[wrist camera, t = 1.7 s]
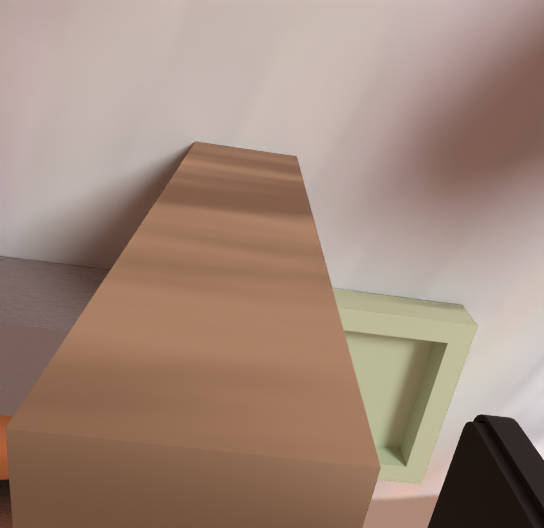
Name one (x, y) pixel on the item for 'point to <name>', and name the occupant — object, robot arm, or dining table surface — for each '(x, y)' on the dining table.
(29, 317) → the block
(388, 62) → the dining table surface
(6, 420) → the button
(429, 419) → the holder tray
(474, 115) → the dining table surface
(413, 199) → the dining table surface
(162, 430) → the walnut peg
